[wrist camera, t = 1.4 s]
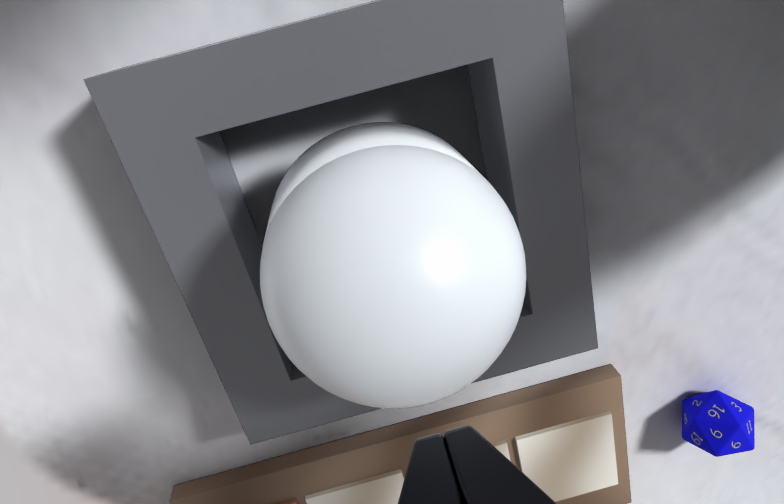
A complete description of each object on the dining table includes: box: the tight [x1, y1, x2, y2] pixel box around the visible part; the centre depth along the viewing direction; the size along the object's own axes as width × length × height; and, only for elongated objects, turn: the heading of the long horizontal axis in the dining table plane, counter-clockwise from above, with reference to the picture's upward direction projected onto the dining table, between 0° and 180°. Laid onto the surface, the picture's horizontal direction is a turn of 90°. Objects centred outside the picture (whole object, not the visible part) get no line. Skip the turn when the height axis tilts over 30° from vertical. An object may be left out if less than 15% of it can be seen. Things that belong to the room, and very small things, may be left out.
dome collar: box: [84, 0, 598, 445], centre depth 18 cm, size 12×12×3 cm
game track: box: [169, 364, 631, 504], centre depth 24 cm, size 18×7×1 cm, turn 104°
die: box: [682, 390, 754, 457], centre depth 23 cm, size 3×3×3 cm
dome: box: [260, 122, 526, 408], centre depth 14 cm, size 6×6×6 cm
